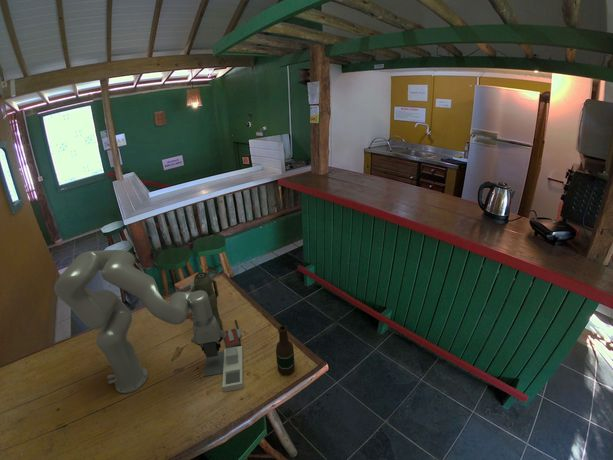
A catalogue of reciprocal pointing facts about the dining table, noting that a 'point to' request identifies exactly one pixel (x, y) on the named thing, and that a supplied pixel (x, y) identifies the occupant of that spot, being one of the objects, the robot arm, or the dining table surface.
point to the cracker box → (186, 288)
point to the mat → (214, 365)
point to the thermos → (208, 292)
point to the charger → (210, 349)
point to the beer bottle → (284, 353)
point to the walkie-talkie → (233, 337)
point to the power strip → (233, 369)
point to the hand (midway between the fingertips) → (212, 349)
